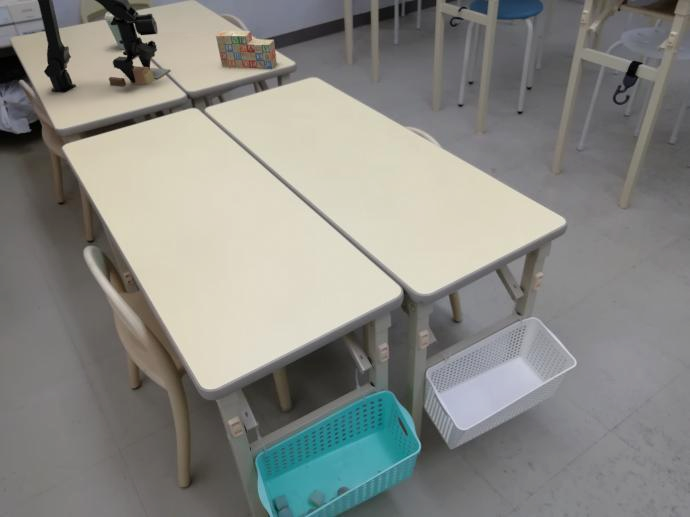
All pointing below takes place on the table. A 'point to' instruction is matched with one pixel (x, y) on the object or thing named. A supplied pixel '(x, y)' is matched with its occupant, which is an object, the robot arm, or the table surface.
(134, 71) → the plug block
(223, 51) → the stack of blocks
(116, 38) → the disposable coffee cup
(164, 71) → the mat
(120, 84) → the rail left
